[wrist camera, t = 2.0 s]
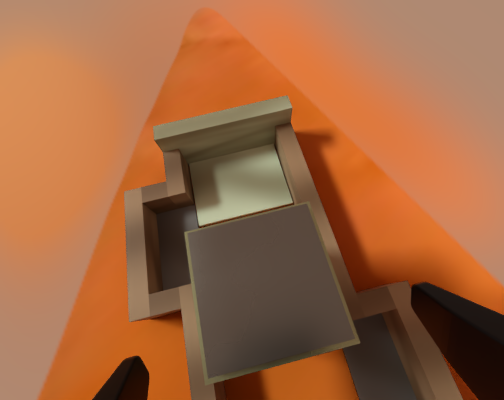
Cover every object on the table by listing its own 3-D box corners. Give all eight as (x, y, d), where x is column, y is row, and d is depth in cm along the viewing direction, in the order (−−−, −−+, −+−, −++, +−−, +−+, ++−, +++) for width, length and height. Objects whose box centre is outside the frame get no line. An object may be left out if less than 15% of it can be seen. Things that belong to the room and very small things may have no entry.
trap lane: (459, 447, 13) (535, 505, 9) (162, 534, 12) (118, 632, 9) (317, 123, 22) (327, 86, 18) (138, 165, 21) (110, 136, 17)
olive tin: (306, 319, 16) (366, 345, 6) (242, 336, 16) (201, 390, 6) (287, 255, 17) (311, 196, 8) (229, 270, 17) (180, 228, 8)
